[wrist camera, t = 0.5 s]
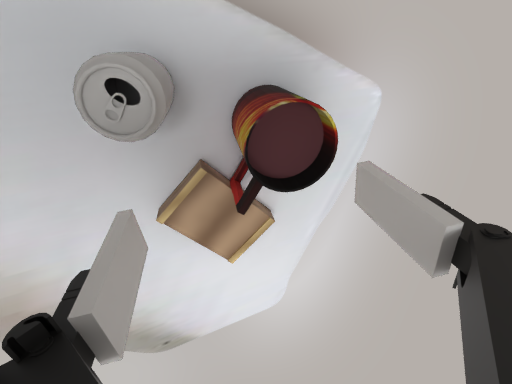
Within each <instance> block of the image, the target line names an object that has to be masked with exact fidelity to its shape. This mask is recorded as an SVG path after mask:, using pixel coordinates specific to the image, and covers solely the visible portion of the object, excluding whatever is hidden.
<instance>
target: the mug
mask: <svg viewBox="0 0 512 384" xmlns="http://www.w3.org/2000/svg"><path fill="white" fill-rule="evenodd" d="M232 129H233V133H234V135H235V138H236V140H237V142H238V145H239V147H240V150H241V152H242V154H243V157H244V158H243V159H242V161H241V163H240V165H239V166H238V168H237V170H236V172H235V174H234V175H233V177H232V178H231V180H230V186H231V190H232V193H233V196H234V200H235V204H236V209H237V212H238V213H240V214H242V215H245V213H246V212H247V210H248V209H249V207H250V206H251V204H252V202H253V201H254V199H255V198H256V196H257V194H258V193H259V191H260V189H261V188H262V186H265V187H267V188H268V189H271V190H274V191H278V192H293V191H298V190H301V189H304V188H306V187H308V186H310V185H312V184H313V183H315V182H316V181H318V180H319V179H320V178H321V177H322V176H323V175H324V174H325V173H326V171H327V170H328V169H329V167H330V166H331V164H332V162H333V160H334V158H335V154H336V151H337V145H338V133H337V129H336V125H335V123H334V121H333V119H332V117H331V116H330V115H329V113H328V112H327V111H326V110H325V109H324V108H322V107H321V106H320V105H318V104H316V103H314V102H312V101H309V100H307V99H305V98H303V97H300V96H298V95H296V94H294V93H291V92H289V91H287V90H285V89H282V88H280V87H278V86H273V85H262V86H258V87H255V88H253V89H251V90H249V91H248V92H247V93H245V94H244V95H243V96H242V97H241V98H240V99H239V101H238V103H237V104H236V106H235V109H234V111H233V116H232ZM248 169H249V170H250V172H251V174H252V175H253V178H252V180H251V181H250V183H249V185H248V187H247V188H246V190H245V192H244V193H243V191H242V187H241V184H240V182H241V181H242V179H243V177H244V175H245V174H246V172H247V170H248Z"/></svg>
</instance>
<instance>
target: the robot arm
mask: <svg viewBox="0 0 512 384" xmlns="http://www.w3.org/2000/svg"><path fill="white" fill-rule="evenodd" d="M355 203H356V204H357V205H358V206H359V207H360V208H361V209H362V210H363V211H364V212H365V213H366V214H367V215H368V216H369V217H370V218H372V220H373V221H374V222H375V223H377V224H378V225H379V226H380V227H381V228H382V229H383V230H384V231H385V232H386V233H387V234H388V235H389V236H390V237H391V238H392V239H393V240H394V241H395V242H396V243H397V244H398V245H399V246H400V247H401V248H402V249H403V250H404V251H405V252H406V253H407V254H408V255H409V256H410V257H412V258H413V259H414V260H415V261H416V262H417V263H418V264H419V265H420V266H421V267H422V268H423V269H424V270H425V271H426V272H427V273H428V274H429V275H430V276H431V277H432V278H434V277H437V276H441V275H445V274H448V272H449V269H450V266H451V263H452V264H453V265H455V266H456V267H457V268H458V273H457V276H456V278H455V281H454V284H453V288H456V286H457V285H458V296H459V306H460V319H461V330H462V341H463V353H464V364H465V376H466V384H512V233H511V232H510V231H508V230H507V229H505V228H502V227H500V226H498V225H493V224H487V223H481V224H477V223H475V222H473V221H472V220H470V219H469V218H467V217H465V216H464V215H462V214H461V213H459V212H457V211H456V210H454V209H451V207H449V206H448V205H446V204H444V203H443V202H441V201H440V200H438V199H437V198H435V197H432V196H429V195H427V194H419V193H418V192H416V191H414V190H413V189H411V188H410V187H408V186H407V185H405V184H404V183H402V182H401V181H399V180H397V179H396V178H395V177H393V176H392V175H390V174H388V173H387V172H385V171H384V170H382V169H381V168H379V167H378V166H376V165H375V164H373V163H372V162H370V161H366V162H361V163H357V173H356V188H355ZM147 251H148V246H147V244H146V242H145V239H144V237H143V235H142V232H141V230H140V227H139V225H138V223H137V220H136V218H135V215H134V213H133V211H132V209H131V210H126V211H121V212H117V214H116V216H115V218H114V221H113V223H112V225H111V227H110V229H109V231H108V233H107V235H106V238H105V240H104V242H103V244H102V246H101V248H100V250H99V252H98V255H97V257H96V259H95V261H94V263H93V265H92V267H91V269H89V270H84V271H81V272H80V273H79V274H78V275H77V276H76V277H75V278H74V279H73V280H72V281H71V283H70V285H69V286H68V288H67V290H66V293H65V294H64V296H63V298H62V301H61V302H60V303H59V305H58V307H57V309H56V311H55V313H54V315H53V317H51V315H49V314H47V313H38V314H35V315H32V316H30V317H28V318H26V319H24V320H22V321H21V322H19V323H18V324H17V325H16V326H14V327H13V328H12V329H11V330H10V331H9V332H8V334H7V335H6V336H5V338H4V340H3V342H2V349H3V350H4V351H5V352H6V353H7V354H8V355H9V356H10V357H11V358H12V359H13V360H11V361H9V362H7V363H5V364H3V365H1V366H0V384H102V382H101V381H100V380H99V378H98V377H97V375H96V374H95V372H94V371H93V370H92V368H91V367H92V364H93V361H94V358H95V357H96V359H97V360H98V361H99V363H100V364H101V365H104V364H108V363H111V362H115V361H119V360H122V358H123V353H124V349H125V345H126V340H127V336H128V332H129V328H130V323H131V319H132V315H133V311H134V306H135V302H136V298H137V293H138V289H139V285H140V281H141V276H142V272H143V268H144V263H145V259H146V255H147Z"/></svg>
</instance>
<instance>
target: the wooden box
mask: <svg viewBox="0 0 512 384" xmlns="http://www.w3.org/2000/svg"><path fill="white" fill-rule="evenodd" d="M242 191H243V190H242ZM244 192H245V191H243V193H244ZM156 221H158V222H159V223H161V224H163V223H164V224H165V225H167V226H169V227H171V228H172V229H174V230H176V231H178V232H179V233H181V234H183V235H185V236H187V237H188V238H190V239H192V240H194V241H195V242H197V243H199V244H201V245H203V246H204V247H206V248H208V249H210V250H211V251H213V252H215V253H217V254H218V255H220V256H222V257H224V258H226V259H227V260H228V261H229V262H231V263H232V264H233V263H234V262H235V261H236V260H237V259H238V258H239V257H240V256H241V255H242V254H243V253H244V252H245V251H246V250H247V249H248V248H249V247H250V246H251V245H252V244H253V243H254V242H255V241H256V240H257V239H258V238H259V237H260V236H261V235H262V234H263V233H264V232H265V231H266V230H267V229H268V228H269V227H270V226H271V225H272V224H273V223H274V222H275V220H274V218H273V216H272V213H271V211H270V210H269V209H268V208H266V207H265V206H264V205H262V204H261V203H260V202H258V201H257V200H256V199H254V201H253V202H252V204H251V206H250V207H249V209H248V210H247V212H246V213H245V215H242V214H240V213H238V212H237V209H236V204H235V200H234V196H233V193H232V190H231V186H230V180H228V179H227V178H226V177H224V176H223V175H221V174H220V173H219V172H217V171H216V170H215V169H213V168H212V167H211V166H209V165H208V164H206V163H205V162H204V161H202V160H200V161H199V162H198V163H197V164H196V166H195V167H194V168H193V169H192V170H191V171H190V173H189V174H188V175H187V176H186V177H185V179H184V180H183V181H182V182H181V183H180V184H179V186H178V187H177V188H176V189H175V190H174V192H173V193H172V194H171V195H170V196H169V197H168V199H167V200H166V201H165V202H164V203H163V205H162V206H161V207H160V208H159V211H158V215H157V219H156Z"/></svg>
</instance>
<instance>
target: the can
mask: <svg viewBox="0 0 512 384" xmlns="http://www.w3.org/2000/svg"><path fill="white" fill-rule="evenodd" d="M73 93H74V99H75V104H76V106H77V108H78V110H79V112H80V114H81V116H82V118H83V119H84V120H85V121H86V122H87V123H88V124H89V125H90V126H91V128H93V129H94V130H96V131H97V132H99V133H100V134H102V135H103V136H105V137H107V138H111V139H114V140H117V141H123V142H134V141H138V140H142V139H145V138H147V137H148V136H150V135H151V134H153V133H155V132H156V130H157V129H158V128H159V126H160V125H161V124H162V122H163V120H164V118H165V116H166V114H167V112H168V110H169V108H170V106H171V104H172V101H173V97H174V85H173V82H172V79H171V76H170V74H169V73H168V71H167V70H166V68H165V67H164V65H162V64H161V63H160V62H159V61H158V60H156V59H155V58H153V57H151V56H149V55H146V54H144V53H136V52H116V53H105V54H100V55H96V56H93V57H92V58H90V59H89V60H88V61H86V62H85V63H83V64H82V66H81V67H80V69H79V70H78V72H77V74H76V75H75V80H74V86H73Z"/></svg>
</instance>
